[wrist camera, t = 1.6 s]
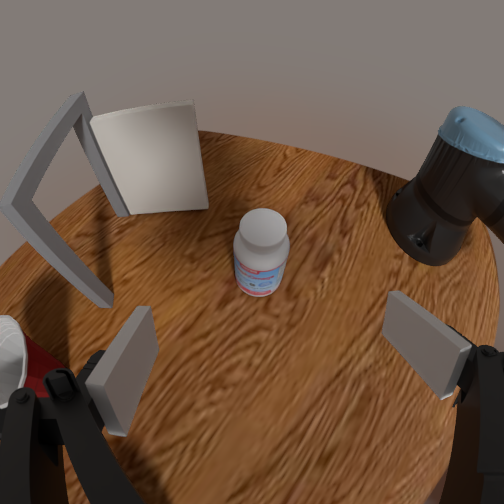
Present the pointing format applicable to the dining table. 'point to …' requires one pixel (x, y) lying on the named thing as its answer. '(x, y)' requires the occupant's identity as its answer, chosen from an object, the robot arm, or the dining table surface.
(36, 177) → the door frame
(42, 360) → the plastic cup
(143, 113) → the door
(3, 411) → the phone
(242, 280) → the pill bottle
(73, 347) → the dining table surface
